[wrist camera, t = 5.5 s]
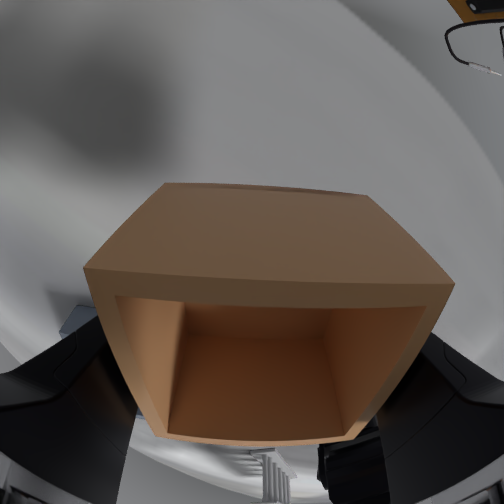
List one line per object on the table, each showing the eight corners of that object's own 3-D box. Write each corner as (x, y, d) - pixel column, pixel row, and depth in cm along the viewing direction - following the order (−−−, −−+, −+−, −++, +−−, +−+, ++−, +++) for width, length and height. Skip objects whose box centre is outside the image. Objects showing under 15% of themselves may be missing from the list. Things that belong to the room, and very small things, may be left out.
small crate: (367, 195, 8) (455, 283, 4) (329, 338, 12) (353, 439, 7) (165, 182, 8) (83, 267, 4) (180, 333, 11) (155, 436, 7)
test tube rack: (250, 450, 39) (249, 515, 28) (275, 447, 39) (277, 514, 27) (279, 477, 51) (281, 521, 39) (297, 475, 50) (300, 519, 39)
